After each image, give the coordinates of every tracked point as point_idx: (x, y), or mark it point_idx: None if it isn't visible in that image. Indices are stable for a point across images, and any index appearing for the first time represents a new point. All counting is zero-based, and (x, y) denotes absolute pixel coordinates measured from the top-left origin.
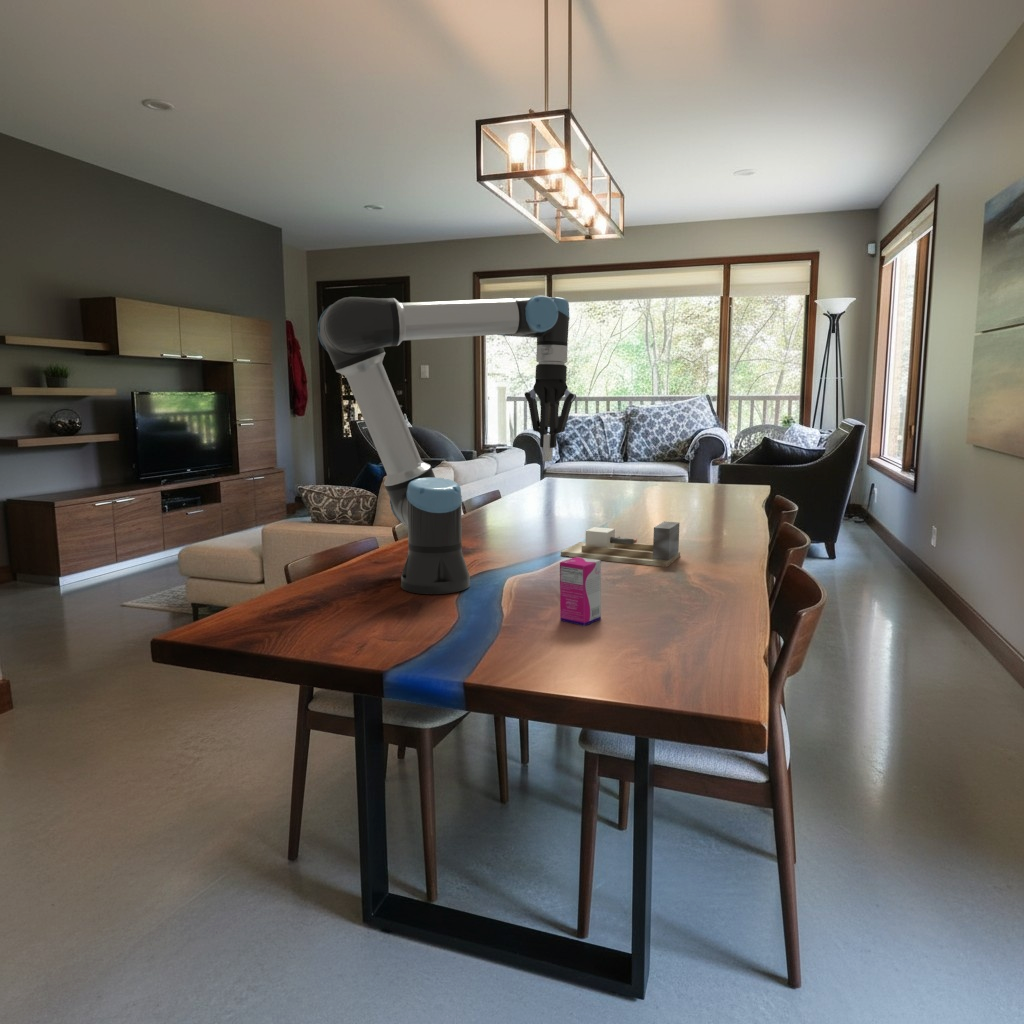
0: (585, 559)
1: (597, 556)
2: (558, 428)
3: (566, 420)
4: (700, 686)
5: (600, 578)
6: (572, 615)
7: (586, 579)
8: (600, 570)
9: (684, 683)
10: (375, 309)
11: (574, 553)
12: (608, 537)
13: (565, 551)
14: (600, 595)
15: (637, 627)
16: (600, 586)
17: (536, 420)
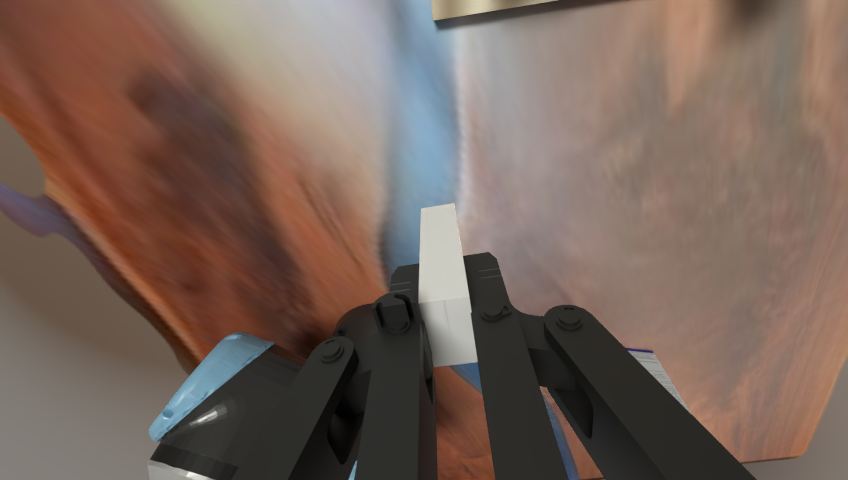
0: None
1: (545, 1)
2: (566, 394)
3: (667, 411)
4: (765, 433)
5: (679, 396)
6: None
7: None
8: (686, 407)
9: (751, 434)
10: None
11: (474, 13)
12: None
13: (444, 11)
14: (667, 376)
15: (701, 354)
16: (673, 386)
17: (346, 476)
